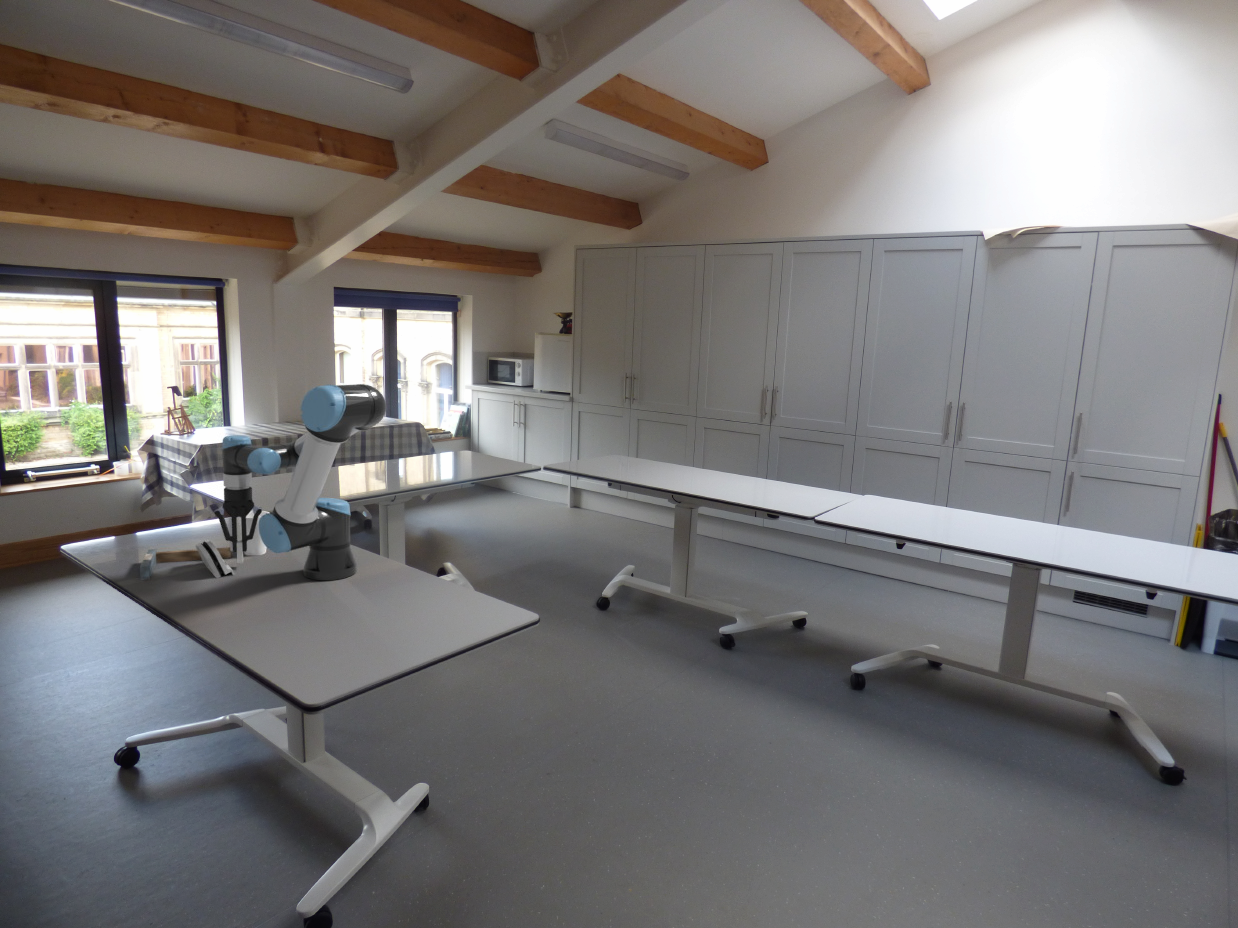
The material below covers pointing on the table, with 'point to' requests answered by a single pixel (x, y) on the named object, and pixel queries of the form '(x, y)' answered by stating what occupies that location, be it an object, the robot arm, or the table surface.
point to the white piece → (213, 559)
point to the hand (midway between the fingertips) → (240, 561)
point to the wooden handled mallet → (172, 558)
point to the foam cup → (255, 544)
